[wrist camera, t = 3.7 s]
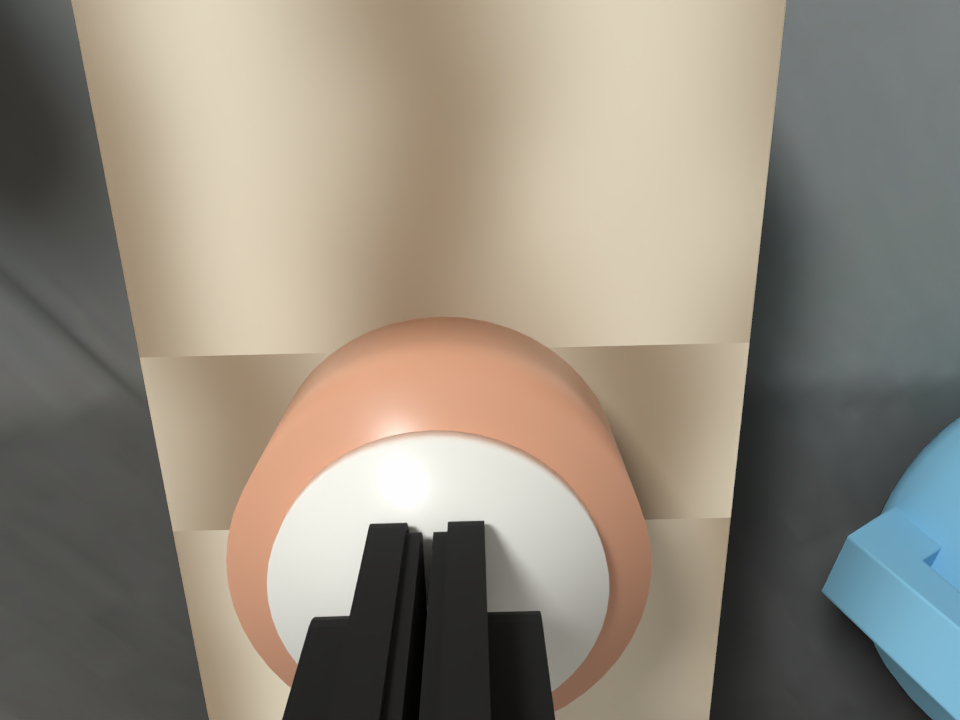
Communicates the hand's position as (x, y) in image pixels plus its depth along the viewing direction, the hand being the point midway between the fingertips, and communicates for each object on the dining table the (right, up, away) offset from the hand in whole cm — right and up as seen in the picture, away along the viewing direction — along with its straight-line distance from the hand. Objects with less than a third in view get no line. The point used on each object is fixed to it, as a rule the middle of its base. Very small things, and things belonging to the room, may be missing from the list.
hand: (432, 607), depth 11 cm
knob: (0, +4, +10) cm, 11 cm away
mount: (0, +5, +12) cm, 13 cm away
